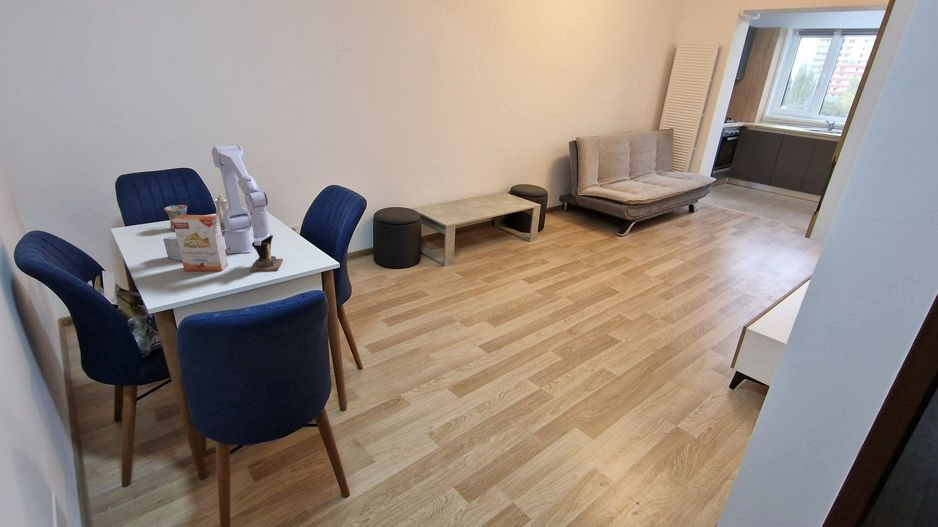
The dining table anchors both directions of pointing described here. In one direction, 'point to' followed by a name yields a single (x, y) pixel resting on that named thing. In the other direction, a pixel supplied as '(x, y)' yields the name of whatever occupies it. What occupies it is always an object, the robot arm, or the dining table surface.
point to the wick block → (268, 254)
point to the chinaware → (221, 208)
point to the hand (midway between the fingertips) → (265, 256)
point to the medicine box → (172, 248)
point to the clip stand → (266, 265)
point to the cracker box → (200, 242)
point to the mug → (175, 213)
